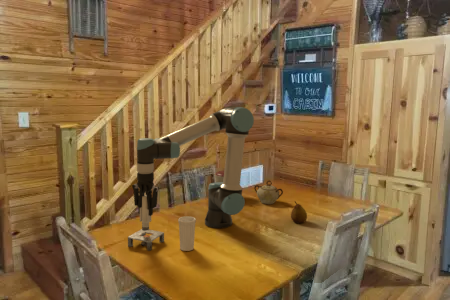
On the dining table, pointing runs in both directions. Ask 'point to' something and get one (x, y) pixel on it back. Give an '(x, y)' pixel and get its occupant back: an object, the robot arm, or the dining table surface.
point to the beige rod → (144, 213)
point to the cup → (187, 232)
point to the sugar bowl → (268, 193)
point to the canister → (219, 176)
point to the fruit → (298, 214)
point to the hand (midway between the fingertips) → (145, 221)
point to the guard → (146, 238)
